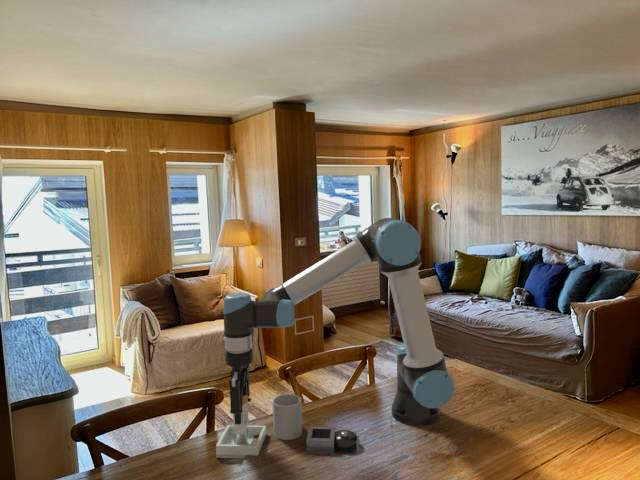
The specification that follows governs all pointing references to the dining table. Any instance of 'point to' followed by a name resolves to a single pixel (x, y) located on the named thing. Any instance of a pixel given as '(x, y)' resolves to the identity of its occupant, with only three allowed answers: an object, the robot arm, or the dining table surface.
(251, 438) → the tray
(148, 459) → the dining table surface
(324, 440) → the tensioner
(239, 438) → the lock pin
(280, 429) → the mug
